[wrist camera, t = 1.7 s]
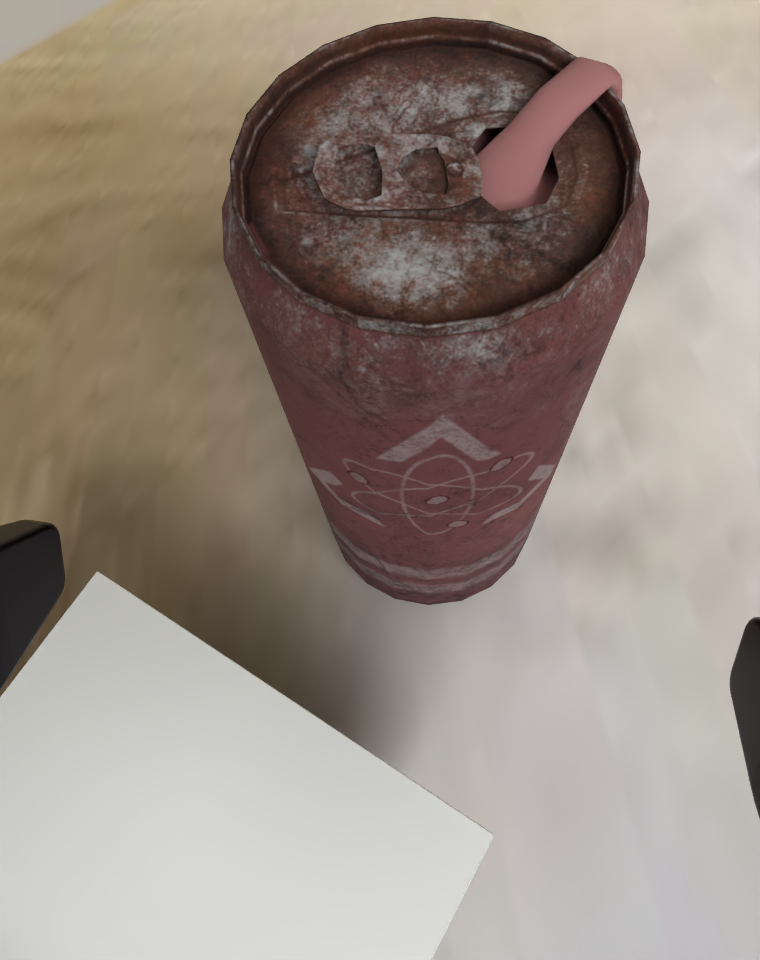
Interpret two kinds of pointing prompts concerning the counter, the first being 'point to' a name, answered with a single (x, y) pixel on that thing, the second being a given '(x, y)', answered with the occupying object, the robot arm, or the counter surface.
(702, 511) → the counter surface
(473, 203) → the can
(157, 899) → the trapdoor
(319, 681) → the counter surface
